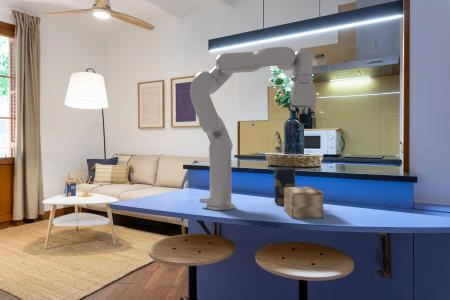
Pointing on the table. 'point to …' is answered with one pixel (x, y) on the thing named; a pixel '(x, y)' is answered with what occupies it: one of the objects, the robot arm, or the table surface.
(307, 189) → the lid
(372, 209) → the table surface
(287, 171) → the canister
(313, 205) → the brown wooden box
